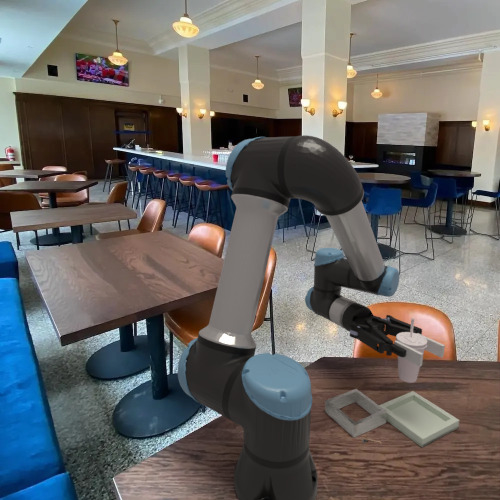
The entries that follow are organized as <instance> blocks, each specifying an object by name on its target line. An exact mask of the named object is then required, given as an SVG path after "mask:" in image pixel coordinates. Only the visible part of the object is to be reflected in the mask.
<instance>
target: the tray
mask: <svg viewBox="0 0 500 500" xmlns="http://www.w3.org/2000/svg"><path fill="white" fill-rule="evenodd" d="M378 405H379V404H378ZM379 406H381V407H382V408H383V409H385V410H386V411H387V419H386V422H388V423H389V424H390V425H392V427H394V428H396V429H397V430H398V431H399V432H401V433H402V434H404V435H405V436H406V437H407V438H409V439H410V440H411V441H412V442H414V443H415V444H417V445H418V446H419V447H421V448H424V447H426V446H427V445H429V444H432V443H434V442H435V441H436V440H439V439H440V438H442V437H444V436H446V435H448V434H450V433H452V432H454V431H455V430H458V429H459V426H460V419H458V418H457V417H455V416H454V415H452V414H451V413H449V412H447V411H446V410H444V409H443V408H441V407H440V406H438V405H436V404H434V403H433V402H431V401H430V400H428V399H426V398H425V397H423V396H422V395H420V394H418V393H417V392H415V391H414V390H412V391H410V392H407V393H405V394H403V395H400V396H399V397H396V398H393V399H391V400H389V401H386V402H384V403H382V404H380V405H379Z"/></svg>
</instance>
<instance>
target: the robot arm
mask: <svg viewBox="0 0 500 500" xmlns="http://www.w3.org/2000/svg"><path fill="white" fill-rule="evenodd" d="M225 177H226V178H227V180H226V182H227V186H228V187H229V189H230V191H232V192H231V195H230V198H231V200H232V201H233V204H234V205H235V208H236V209H235V213H234V216H233V217H234V218H233V220H232V221H233V222H232V226H231V229H230V234H229V237H228V242H227V246H226V251H225V255H224V259H223V263H222V268H221V272H220V276H219V279H218V284H217V288H216V292H215V297H214V301H213V305H212V310H211V312H210V313H211V314H210V318H209V323H208V324H207V326H205V327H204V328H201V329H200V330H199V332H198V335H197V337H195V338H193V339H192V340H191V341H189V343H188V344H187V347H186V348H184V349H183V350H182V352H181V355H180V357H179V360H178V364H177V378H178V382H179V385H180V387H181V389H182V391H183V392H184V393H185V394H186V395H187V396H189V397H190V398H192V399H193V400H194V401H195V402H196V403H198V404H199V405H202V406H205V407H206V408H208V409H210V410H212V411H214V412H215V413H217V414H219V415H221V416H222V417H224V418H227V420H230V421H231V422H233V423H235V424H236V425H238V426H240V427H241V428H242V430H243V432H242V433H243V446H242V448H241V451H240V453H239V457H238V459H237V461H236V463H235V466H234V472H233V473H234V474H233V481H234V482H233V483H234V491H235V494H236V497H237V499H238V500H316V498H317V493H318V485H319V484H318V482H319V481H318V480H319V479H318V472H317V471H318V470H317V468H316V464H315V461H314V459H313V455H312V453H311V450H310V436H311V419H312V418H311V416H312V415H311V413H312V405H313V395H312V384H311V383H312V382H311V378H310V376H309V374H308V372H307V370H306V368H305V367H303V366H304V365H302V364H301V363H299V362H298V361H297V360H295V359H294V358H292V357H290V356H287V355H284V354H280V353H274V354H271V353H270V352H263V353H258V354H255V353H256V349H257V343H256V341H255V339H254V337H253V336H252V332H253V328H254V324H255V319H256V314H257V312H258V311H257V310H258V308H259V307H258V306H259V301H260V297H261V293H262V288H263V285H264V280H265V276H266V271H267V267H268V263H269V258H270V253H271V249H272V247H273V245H272V244H273V241H274V237H275V232H276V228H277V223H278V220H279V217H280V216H282V215H284V214H285V213H286V212H288V209H289V206H290V203H291V199H292V200H293V199H294V200H304V201H308V202H310V203H311V204H313V205H314V207H315V209H316V210H317V212H318V213H319V214H321V215H322V216H325V217H326V219H327V221H328V223H329V225H330V227H331V229H332V231H333V234H334V235H335V237H336V239H337V242H338V243H339V245H340V248H341V249H339V248H335V247H322V248H319V249H317V250H316V252H315V254H314V255H315V256H314V264H313V267H314V268H313V271H314V272H313V286H312V287H311V288H309V289H308V290H307V291H306V295H305V297H304V302H305V306H306V307H307V309H309V311H312V312H313V313H314V314H315V315H317V316H320V317H321V318H322V317H323V318H325V319H326V320H328V321H329V322H332V323H334V324H335V325H337V326H338V327H340V328H342V329H344V330H345V331H347V332H349V337H350V338H353V339H356V340H358V341H359V342H361V343H362V344H364V345H366V347H367V346H368V347H369V348H370V349H372V350H374V351H376V353H377V352H378V354H384V353H385V352H386V356H387V357H388V356H389V357H391V356H392V355H393V354H394V355H396V356H397V357H398V356H400V357H402V358H404V359H406V360H408V361H410V362H412V363H413V364H415V365H417V366H419V367H420V368H421V367H423V362H424V361H423V360H424V354H423V353H421V352H419V351H417V350H415V349H413V348H411V347H409V346H407V345H405V344H403V343H401V342H399V341H396V340H394V341H393V340H392V339H391V338H390V337H388V335H389V336H392V337H395V338H396V335H397V334H399V333H401V332H410V329H411V323H408V322H405V321H402V320H400V319H397V318H395V317H394V316H392V315H391V314H386V316H385V318H382V317H380V316H376V315H374V314H373V312H372V310H371V308H369V307H368V306H365V305H363V304H361V303H359V302H356V301H354V300H352V299H349V298H347V297H345V296H343V295H341V292H342V288H345V289H346V288H347V289H351V290H355V291H358V292H363V293H367V294H371V295H375V296H377V297H378V296H382V297H387V298H389V297H392V296H394V295H395V294H396V292H397V290H398V287H399V283H400V271H399V269H397V268H396V267H393V266H390V265H385V262H384V260H383V256H382V253H381V252H380V249H379V246H378V243H377V241H376V237H375V234H374V232H373V229H372V226H371V224H370V221H369V217H368V214H367V213H366V209H365V206H364V204H363V201H362V200H363V199H364V194H365V190H364V186H363V183H362V181H361V178H360V176H359V174H358V172H357V170H355V168H354V166H353V165H352V164H351V162H350V161H349V160H348V158H347V157H346V156H345V155H344V154H343V153H342V152H341V151H339V150H338V148H336V147H335V146H334V145H333V144H331V143H329V142H328V141H326V140H324V139H322V138H319V137H317V136H314V135H313V136H312V135H297V136H276V137H274V136H273V137H271V136H270V137H266V136H259V137H254V138H248V139H244V140H242V141H240V142H239V143H237V144H236V145H235V146H234V148H233V149H232V150H231V151H230V153H229V156H228V158H227V160H226V165H225ZM344 255H345V256H344ZM344 257H345V258H344ZM413 333H416V334H419V335H422V336H423V337H425V338H426V339H427V347H426V348H425V350H424V351H427V352H429V353H431V354H433V355H435V356H437V357H438V358H440V359H441V358H443V357H444V355H445V348H446V345H445V344H443V343H441V342H439V341H437V340H434V339H432V338H430V337H428V336H425V335H424V334H423V328H421V327H418V326H415V325H414V327H413Z"/></svg>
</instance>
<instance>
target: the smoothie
mask: <svg viewBox="0 0 500 500" xmlns="http://www.w3.org/2000/svg"><path fill="white" fill-rule="evenodd" d="M410 324H411V329H410V332H401V333H399V334H397V335H396V337H395V341H399V342H401V343H403V344H405V345H407V346H409V347H411V348H413V349H415V350H417V351H419V352H421V353H423V355H424V353H425V351H426V350H425V348H426V347H427V339H426V338H425V337H426V336H425V337H423V336H424V335H423V334H422V335H423V336H422V335H419V334H416V333H413V327H414V326H415V318H413V317H412V318H411V320H410ZM420 368H421V366H420V367H419V366H417V365H415V364H413V363H412V362H410V361H408V360H406V359H404V358H402V357H400V356H398V355H397V369H398V371H397V372H398V378H399V380H401V381H402V382H404V383H409V384H411V383H415V382H417V379H418V375H419V372H420Z"/></svg>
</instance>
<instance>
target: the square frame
mask: <svg viewBox="0 0 500 500" xmlns="http://www.w3.org/2000/svg"><path fill="white" fill-rule="evenodd" d="M355 403H356V404H357V405H358V406H359V407H361V408H363V410H364V411H366V412H368V413H369V414H370V415H368V416H366V417H364V418H361V419H359V420H357V421H354V420H353V419H352V418H351V417H350V416H348V415H347V413H345V412H344V411H342V410H341V409H342V408H344V407H347V406H349V405H352V404H355ZM324 404H325V405H324V413H325V414H327V415H328V416H329V417H330V418H331V419H333V420H334V422H335V423H337V424H338V425H339V426H340V427H341V428H342V429H344V430H345V432H347V433H348V434H349V435H350V436H351V437H352V438H357V437H359V436H361V435H363V434H365V433H368V432H369V431H372V430H375V429H376V428H378V427H380V426H383V425H385V424H386V423H387V421H386V419H387V411H386V410H385V409H383V408H382V407H381V406H379V404H377V403H376V402H375V401H374V400H372V398H370V397H368V396H367V395H365V394H364V393H363V392H361V390H358V388H354V389H352V390H349V391H347V392H344V393H341V394H338V395H336V396H333V397H330V398H328V399H326V400H325V401H324Z"/></svg>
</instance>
